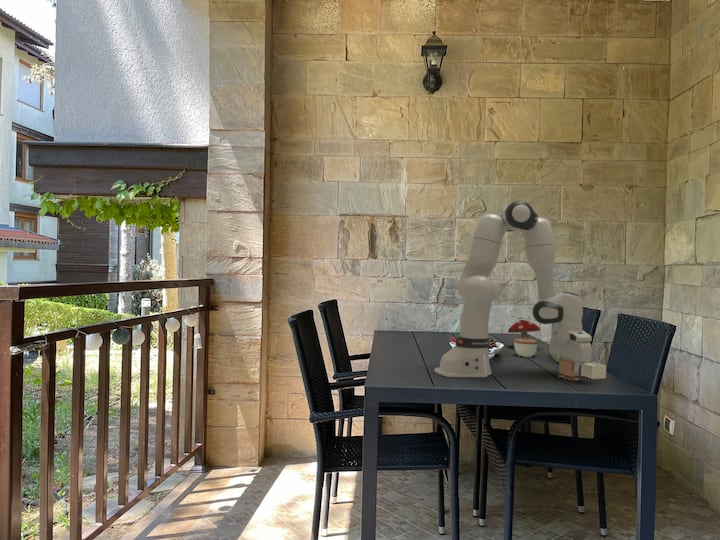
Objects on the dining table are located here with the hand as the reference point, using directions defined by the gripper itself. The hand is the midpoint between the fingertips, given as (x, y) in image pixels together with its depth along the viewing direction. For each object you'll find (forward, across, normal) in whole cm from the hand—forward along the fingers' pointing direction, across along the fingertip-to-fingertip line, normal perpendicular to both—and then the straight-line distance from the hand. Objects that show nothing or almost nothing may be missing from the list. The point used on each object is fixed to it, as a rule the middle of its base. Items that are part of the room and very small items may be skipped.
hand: (568, 369), depth 199 cm
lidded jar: (+4, -46, +12) cm, 47 cm away
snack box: (+4, -34, +24) cm, 41 cm away
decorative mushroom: (+4, -67, +25) cm, 71 cm away
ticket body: (+3, 0, +11) cm, 12 cm away
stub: (+2, 0, 0) cm, 2 cm away
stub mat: (+3, 0, 0) cm, 3 cm away
